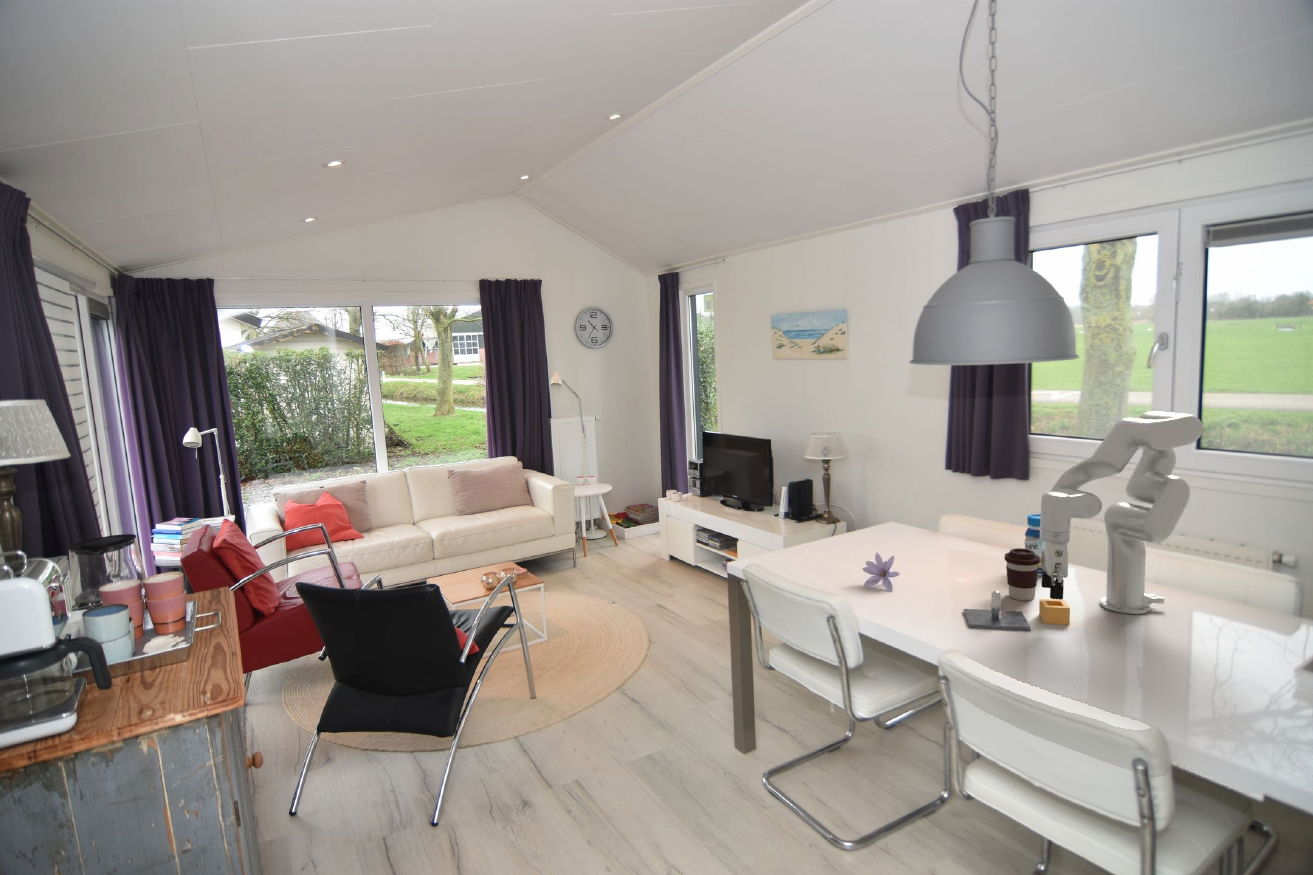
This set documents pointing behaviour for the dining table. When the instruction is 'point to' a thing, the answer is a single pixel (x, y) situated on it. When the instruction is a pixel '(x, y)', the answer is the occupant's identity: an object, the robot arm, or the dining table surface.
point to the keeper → (996, 617)
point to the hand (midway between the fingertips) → (1051, 593)
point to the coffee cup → (1022, 573)
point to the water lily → (880, 572)
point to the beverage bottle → (1034, 538)
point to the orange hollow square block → (1054, 611)
